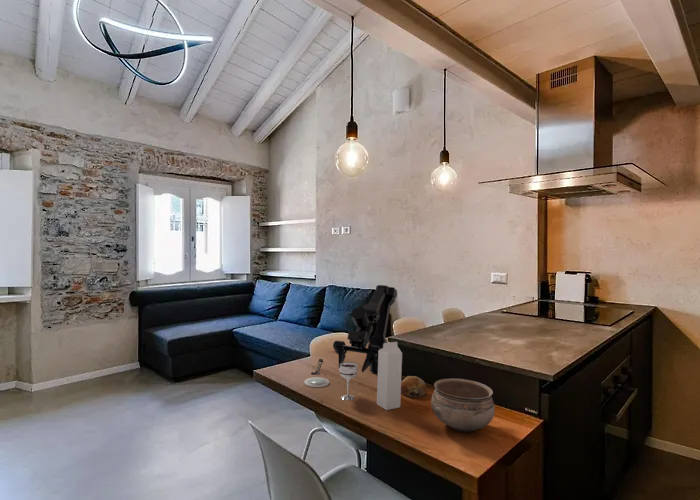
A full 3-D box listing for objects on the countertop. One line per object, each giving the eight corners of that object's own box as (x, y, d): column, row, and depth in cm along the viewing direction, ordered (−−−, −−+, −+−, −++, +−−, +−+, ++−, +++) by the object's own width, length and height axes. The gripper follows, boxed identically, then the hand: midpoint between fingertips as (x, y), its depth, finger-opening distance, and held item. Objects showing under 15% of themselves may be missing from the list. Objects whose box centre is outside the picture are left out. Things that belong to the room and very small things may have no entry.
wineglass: (354, 393, 145) (355, 361, 145) (358, 400, 138) (359, 367, 138) (336, 394, 143) (337, 362, 143) (340, 401, 137) (341, 367, 137)
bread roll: (427, 402, 149) (430, 380, 152) (421, 398, 140) (424, 376, 143) (402, 397, 153) (405, 376, 156) (395, 393, 144) (398, 371, 148)
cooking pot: (458, 407, 135) (459, 372, 135) (510, 427, 121) (511, 388, 121) (411, 426, 119) (412, 387, 119) (465, 452, 104) (466, 407, 104)
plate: (326, 378, 161) (326, 376, 161) (331, 386, 152) (331, 384, 152) (302, 379, 158) (302, 377, 158) (306, 388, 149) (306, 386, 149)
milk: (400, 407, 133) (403, 343, 133) (385, 410, 130) (388, 345, 130) (390, 401, 139) (392, 339, 139) (376, 403, 136) (378, 341, 136)
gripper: (335, 319, 152) (321, 354, 141) (380, 324, 144) (369, 361, 134) (343, 336, 159) (330, 370, 149) (386, 341, 152) (376, 378, 141)
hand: (350, 369), depth 143 cm, fingers open, 9 cm apart
